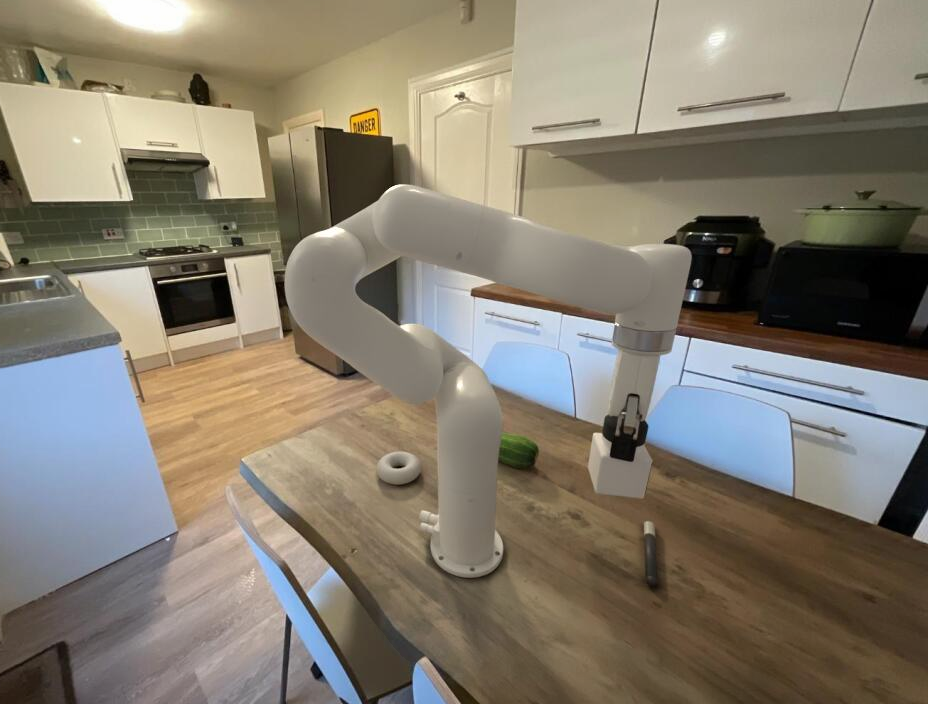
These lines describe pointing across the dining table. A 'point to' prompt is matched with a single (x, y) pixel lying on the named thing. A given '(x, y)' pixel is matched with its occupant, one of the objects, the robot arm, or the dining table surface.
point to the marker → (650, 554)
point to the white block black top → (619, 463)
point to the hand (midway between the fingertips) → (622, 444)
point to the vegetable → (518, 451)
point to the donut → (398, 475)
